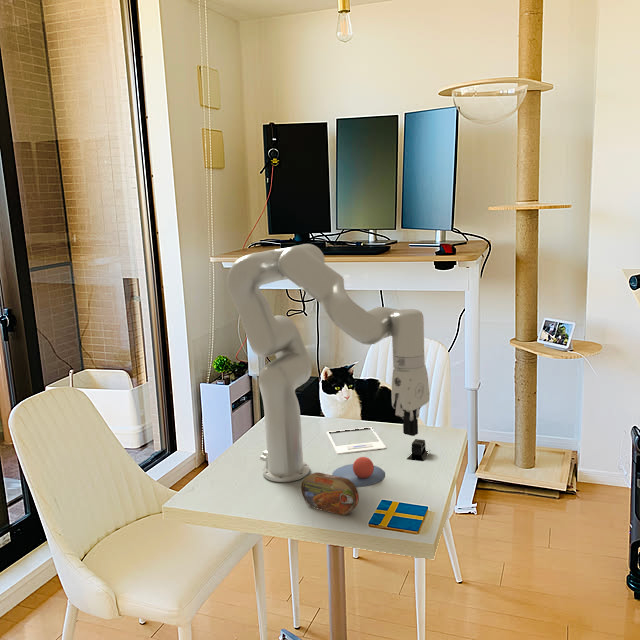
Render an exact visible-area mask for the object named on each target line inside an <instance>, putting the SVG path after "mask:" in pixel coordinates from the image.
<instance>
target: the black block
mask: <svg viewBox="0 0 640 640" xmlns="http://www.w3.org/2000/svg"><path fill="white" fill-rule="evenodd" d="M426 450H427V449H426V439H425V440H424V439H420V438H419V439H418V438H415V439H414V440H413V441H412V442H411V452H412V454H411V453H410V454H411V455H410V454H409V455H410V456H409V455H408V456H409V457H406V460H408V461H417V462H424V461H425V460H426V459H427V457H428V455H429V454H428V453H427V452H428V451H426ZM427 454H428V455H427Z"/></svg>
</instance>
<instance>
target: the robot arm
mask: <svg viewBox="0 0 640 640" xmlns="http://www.w3.org/2000/svg"><path fill="white" fill-rule="evenodd" d="M324 255H325V254H324V253H323V251H322V250H321V249H320V248H319V247H318V246H316V245H314V244H312V243H302V244H299V245H293V246H290V247H284V248H276V249H270V250H264V251H261V252H260V251H259V252H253V253H249V254H246V255H244V256H241V257H240V258H238V259H237V260H236V261H234V263H233V264H232V265H231V267H230V269H229V271H228V273H227V280H226V281H227V282H226V283H227V284H226V285H227V290H228V294H229V296H230V298H231V300H232V302H233V305H234V308H235V309H236V311H237V313H238V316H239V319H240V323H241V325H242V328H243V330H244V333H245V335H246V338H247V340H248V343H249V346H250V348H251V350H252V352H253V353H254V354H255V355H256V356H258V357H261V358H267V357H271V356H274V355H275V357H276V358H275V359H272V360H271V361H269V362H268V363H266V364H265V365H264V366H263V368H262V369H261V371H260V372H259V375H258V386H259V391H260V393H261V399H262V403H263V410H264V411H263V412H264V413H263V414H264V424H265V440H266V450H264V451H263V453H262V455H260V456H259V460H260V461H263V462H265V466H264V467H263V469H262V476H263V477H264V478H265V479H267V480H268V481H272V482H276V483H288V482H295V481H298V480H301V479H304V478H305V477H306V476H308V475H309V473H310V466H309V464H308V463H307V462H305V461H304V456H303V441H302V440H303V438H302V423H301V422H302V420H301V409H300V408H301V407H300V404H299V400H298V397H297V394H296V390H297V388H299V387H301V386H302V385H303V384H304V385H305V383H307V382H308V381H309V379H310V377H311V375H312V363H311V361H310V357H309V354H308V352H307V349H306V346H305V344H304V341H303V338H302V336H301V333H300V331H299V329H298V327H297V324H296V323H295V322H294V321H293V320H292V319H290V318H289V317H287V316H285V315H281V314H280V315H274V313H273V311H272V307H271V306H270V303H269V301H268V299H267V297H266V295H264V293H263V292H262V291H261V290H260V288H261V286H263V285H267V284H272V283H274V282H279V281H285V280H289V281H291V282H292V283H293V284H294V285H296V286H297V287H298V288H300V289H301V290H302V291H304V292H305V293H306V294H308V295H309V296H311V297H312V298H313V299H315V301H317V302H318V303H319V304H321V305H322V307H323V309H324V312H326V314H327V316H328V317H329V318H330V320H331V321H332V322H333V323H334V325H336V327H338V328H339V329H340V330H341V331H342V332H343V333H345V334H346V335H348V336H349V337H351V338H352V339H354V340H355V341H357V342H359V343H361V344H362V345H368V346H369V345H370V346H371V345H375V344H377V343H379V342H381V341H382V340H384V339H386V338H389V337H391V338H392V339H391V340H392V341H391V342H392V343H391V344H392V345H391V346H392V368H393V369H392V376H391V378H392V379H391V406H392V408H393V409H395V414H394V416H396V417H400V418H401V419H402V424H403V425H402V428H403V429H402V430H403V434H405V435H407V436H411V437H415V436H416V435H418V434H419V426H418V425H419V424H418V423H419V419H418V418H419V416H420V411H421V408H422V407H423V406H425V405H427V404H428V403H429V402H430V385H429V384H430V383H429V375H428V370H427V367H426V364H425V329H424V328H425V327H424V326H425V321H424V319H425V318H424V314H423V312H422V311H420V310H418V309H412V308H411V309H410V308H405V309H404V308H403V309H397V308H391V307H388V306H387V307H386V306H377V307H375V308H372V309H371V310H370V309H369V310H368V311H367V310H365V308H363V307H361V306H360V305H359V304H358V303H356V302H355V301H353V299H351V297H350V296H349V295H348V294H347V292H346V288H345V281H344V277H343V276H342V275H341V274H340V273H338V272H337V271H336V270H334V269H333V268H331V267H330V266H329V265H327V264H326V263H325V256H324Z"/></svg>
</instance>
